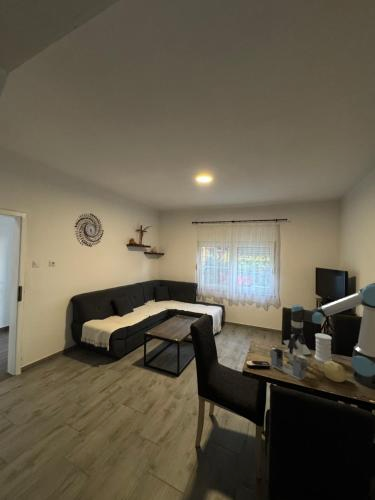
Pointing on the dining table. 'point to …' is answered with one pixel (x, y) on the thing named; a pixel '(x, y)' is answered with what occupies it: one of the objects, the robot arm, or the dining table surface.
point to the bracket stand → (294, 371)
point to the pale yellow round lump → (334, 371)
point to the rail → (297, 357)
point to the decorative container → (323, 347)
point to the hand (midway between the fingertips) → (296, 355)
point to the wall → (296, 348)
